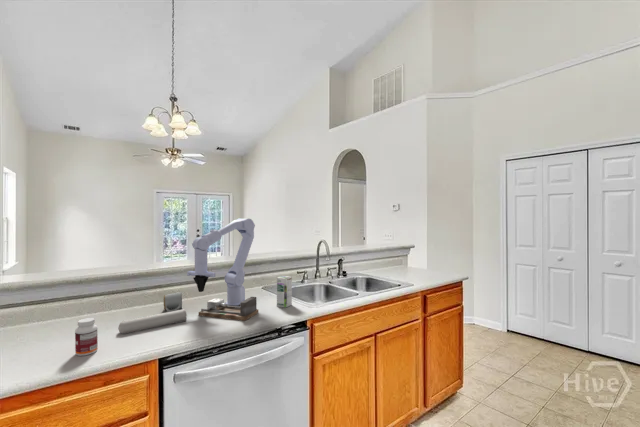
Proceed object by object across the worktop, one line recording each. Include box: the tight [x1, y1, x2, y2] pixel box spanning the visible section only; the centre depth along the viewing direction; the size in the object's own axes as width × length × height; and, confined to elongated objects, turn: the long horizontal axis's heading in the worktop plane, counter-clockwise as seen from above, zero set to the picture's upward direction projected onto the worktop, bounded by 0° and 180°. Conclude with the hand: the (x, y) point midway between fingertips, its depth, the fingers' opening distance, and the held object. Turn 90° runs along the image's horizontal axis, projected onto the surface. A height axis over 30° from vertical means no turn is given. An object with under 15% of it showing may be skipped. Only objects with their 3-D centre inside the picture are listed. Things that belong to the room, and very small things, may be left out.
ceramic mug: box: [163, 291, 183, 313], centre depth 160 cm, size 11×8×8 cm
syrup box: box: [276, 275, 293, 309], centre depth 166 cm, size 6×6×14 cm
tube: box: [118, 308, 188, 335], centre depth 137 cm, size 5×5×25 cm
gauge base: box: [197, 296, 259, 322], centre depth 153 cm, size 24×12×8 cm, turn 73°
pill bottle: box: [74, 317, 99, 357], centre depth 112 cm, size 6×6×11 cm
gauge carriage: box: [206, 297, 228, 310], centre depth 153 cm, size 8×9×4 cm
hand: (201, 291), depth 157 cm, fingers closed
